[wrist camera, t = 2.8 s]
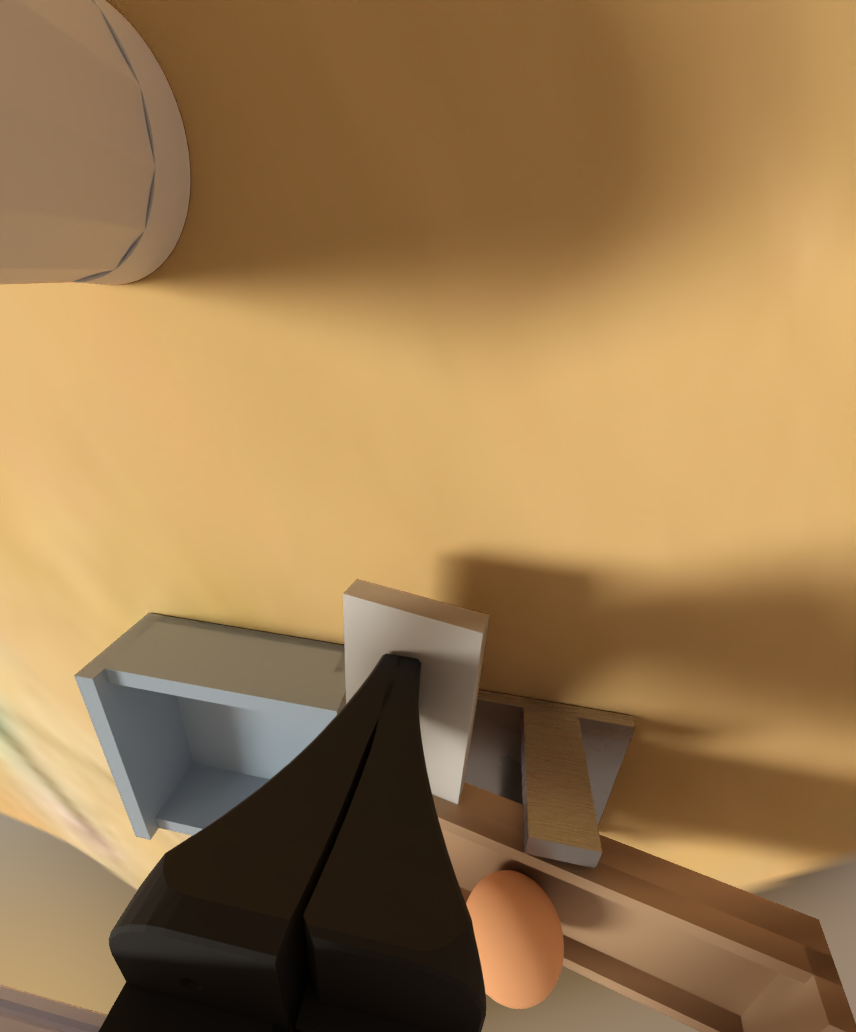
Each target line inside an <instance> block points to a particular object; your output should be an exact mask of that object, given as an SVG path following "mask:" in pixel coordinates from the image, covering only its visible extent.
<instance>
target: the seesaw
mask: <svg viewBox="0 0 856 1032" xmlns="http://www.w3.org/2000/svg"><path fill="white" fill-rule="evenodd" d="M343 609H344V646H345V683H346V704H347V703H348V702H349V700H350V699H351V698H352V697H353V695H354V694H355V693H356V692H357V691H358V689H359V688H360V687H361V685H362V684H363V683H364V681H365V680H366V679H367V677H368V676H369V675H370V673H371V672H372V671H373V669H374V668H375V666H376V665H377V663H378V662H379V660H380V658H381V657H382V656H383V655H384V654H392V655H398V656H405V657H411V658H416V659H418V660H419V661H420V662H421V674H420V688H419V702H418V707H419V719H420V730H421V738H422V744H423V751H424V757H425V763H426V768H427V773H428V778H429V783H430V787H431V792H432V796H433V800H434V804H435V808H436V812H437V816H438V819H439V823H440V826H441V830H442V833H443V837H444V840H445V844H446V847H447V851H448V854H449V857H450V860H451V863H452V866H453V869H454V872H455V875H456V878H457V881H458V884H459V886H460V889H461V892H462V895H463V897H464V900H465V903H467V900H468V898H469V895H470V894H471V892H472V890H473V889H474V887H475V886H476V885H477V884H478V882H480V881H481V880H482V879H483V878H484V877H486V876H487V875H489V874H491V873H493V872H497V871H501V870H512V871H517V872H520V873H522V874H524V875H526V876H528V877H530V878H531V879H533V880H534V881H535V882H536V883H537V884H539V885H540V887H541V888H542V889H543V890H544V891H545V892H546V894H547V895H548V897H549V898H550V900H551V901H552V903H553V905H554V907H555V909H556V912H557V914H558V917H559V920H560V923H561V927H562V932H563V940H564V957H563V964H562V966H565V967H567V968H569V969H571V970H573V971H575V972H577V973H579V974H581V975H584V976H585V977H587V978H589V979H592V980H594V981H596V982H598V983H600V984H602V985H604V986H606V987H608V988H610V989H613V990H615V991H617V992H619V993H621V994H623V995H625V996H627V997H629V998H631V999H633V1000H635V1001H637V1002H640V1003H642V1004H644V1005H646V1006H648V1007H650V1008H652V1009H654V1010H656V1011H658V1012H660V1013H662V1014H664V1015H667V1016H669V1017H671V1018H673V1019H675V1020H677V1021H679V1022H681V1023H683V1024H685V1025H687V1026H690V1027H692V1028H694V1029H696V1030H698V1031H700V1032H856V1023H855V1021H854V1018H853V1015H852V1012H851V1009H850V1007H849V1004H848V1001H847V998H846V995H845V992H844V989H843V987H842V984H841V981H840V978H839V975H838V972H837V970H836V967H835V964H834V961H833V959H832V956H831V953H830V950H829V947H828V944H827V942H826V939H825V936H824V933H823V931H822V928H821V925H820V922H819V920H818V919H816V918H813V917H811V916H808V915H805V914H803V913H800V912H798V911H795V910H793V909H790V908H787V907H785V906H782V905H780V904H777V903H774V902H772V901H769V900H767V899H764V898H762V897H759V896H756V895H754V894H751V893H749V892H746V891H744V890H741V889H738V888H736V887H733V886H731V885H728V884H726V883H723V882H720V881H718V880H715V879H713V878H710V877H708V876H705V875H702V874H700V873H697V872H695V871H692V870H690V869H687V868H684V867H682V866H679V865H677V864H674V863H672V862H669V861H666V860H664V859H661V858H659V857H656V856H653V855H651V854H648V853H646V852H643V851H641V850H638V849H635V848H633V847H630V846H628V845H625V844H623V843H620V842H617V841H615V840H612V839H610V838H607V837H605V836H602V835H599V837H600V842H601V848H602V854H601V857H600V859H599V862H598V864H597V867H596V868H591V867H586V866H582V865H577V864H572V863H568V862H563V861H558V860H554V859H549V858H544V857H540V856H535V855H530V854H526V853H524V828H523V805H522V804H520V803H517V802H514V801H512V800H509V799H507V798H504V797H501V796H499V795H496V794H494V793H491V792H489V791H486V790H483V789H481V788H478V787H476V786H473V785H471V784H468V783H465V777H466V770H467V763H468V757H469V750H470V744H471V737H472V730H473V724H474V717H475V711H476V704H477V697H478V691H479V684H480V678H481V671H482V664H483V658H484V651H485V645H486V638H487V631H488V625H489V618H490V615H488V614H485V613H481V612H477V611H473V610H470V609H466V608H462V607H459V606H455V605H451V604H448V603H444V602H440V601H436V600H433V599H429V598H425V597H422V596H418V595H414V594H411V593H407V592H403V591H400V590H396V589H392V588H388V587H385V586H381V585H377V584H374V583H370V582H366V581H363V580H359V579H356V581H355V582H354V583H353V584H352V585H351V586H350V587H349V588H348V589H347V590H346V591H345V592H344V593H343Z"/></svg>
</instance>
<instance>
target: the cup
mask: <svg viewBox="0 0 856 1032" xmlns="http://www.w3.org/2000/svg"><path fill="white" fill-rule="evenodd" d="M189 198H190V160H189V151H188V145H187V139H186V134H185V130H184V126H183V122H182V118H181V115H180V112H179V109H178V106H177V103H176V100H175V97H174V95H173V92H172V90H171V88H170V85H169V83H168V81H167V79H166V77H165V75H164V73H163V71H162V69H161V67H160V65H159V63H158V62H157V60H156V58H155V57H154V55H153V53H152V52H151V50H150V49H149V47H148V46H147V44H146V43H145V41H144V40H143V39H142V37H141V36H140V35H139V33H138V32H137V31H136V30H135V29H134V27H133V26H132V25H131V24H130V23H129V22H128V21H127V20H126V18H125V17H124V16H123V15H122V14H121V13H120V12H118V11H117V10H116V9H115V8H114V7H113V6H112V5H111V4H109V3H108V2H107V1H106V0H0V284H29V283H64V282H76V283H90V284H105V285H120V284H127V283H131V282H134V281H137V280H140V279H142V278H144V277H146V276H148V275H149V274H151V273H152V272H154V271H155V270H156V269H157V268H158V267H160V266H161V265H162V264H163V262H164V261H165V260H166V259H167V258H168V256H169V255H170V254H171V252H172V251H173V249H174V247H175V246H176V244H177V242H178V240H179V237H180V235H181V232H182V230H183V227H184V224H185V220H186V216H187V211H188V205H189Z"/></svg>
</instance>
